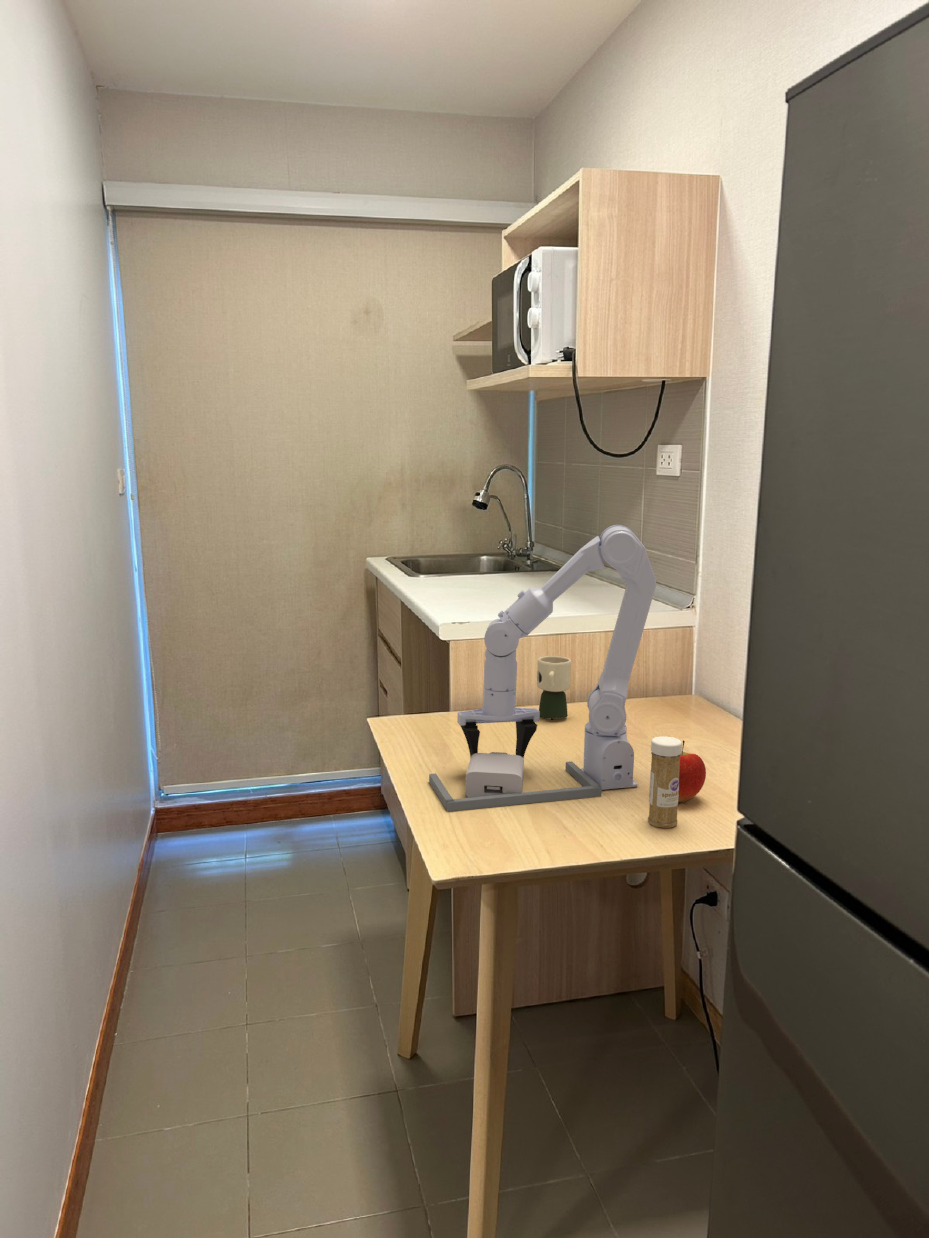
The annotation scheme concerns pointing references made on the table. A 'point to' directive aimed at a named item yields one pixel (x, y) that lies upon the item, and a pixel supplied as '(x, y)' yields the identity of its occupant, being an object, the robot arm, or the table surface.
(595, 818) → the table surface
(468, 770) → the charger
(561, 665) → the character mug
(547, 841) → the table surface
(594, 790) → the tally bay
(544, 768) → the table surface
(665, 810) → the sprinkles bottle
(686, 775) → the apple
